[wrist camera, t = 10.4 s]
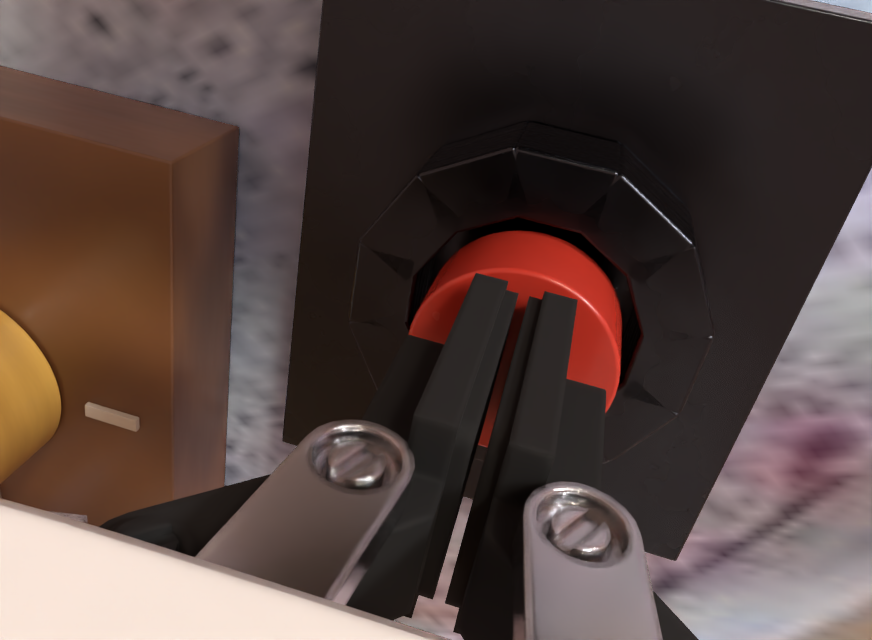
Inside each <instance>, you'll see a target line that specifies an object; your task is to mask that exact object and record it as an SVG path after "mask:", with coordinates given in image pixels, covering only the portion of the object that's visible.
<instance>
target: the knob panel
mask: <svg viewBox="0 0 872 640" xmlns="http://www.w3.org/2000/svg"><path fill="white" fill-rule="evenodd" d="M238 147H239V127H238V126H235V125H231V124H227V123H223V122H219V121H215V120H211V119H207V118H203V117H199V116H195V115H191V114H188V113H184V112H180V111H176V110H172V109H168V108H164V107H160V106H156V105H152V104H148V103H144V102H140V101H137V100H133V99H129V98H125V97H121V96H117V95H113V94H109V93H105V92H101V91H97V90H93V89H89V88H85V87H82V86H78V85H74V84H70V83H66V82H62V81H58V80H54V79H50V78H46V77H42V76H38V75H34V74H30V73H27V72H23V71H19V70H15V69H11V68H7V67H3V66H0V310H1V311H3V312H4V313H5V314H7V315H8V316H9V317H10V318H11V319H13V320H14V321H15V322H16V323H17V324H18V325H19V326H20V327H21V328H22V329H23V330H24V331H25V332H26V333H27V334H28V335H29V336H30V337H31V339H32V340H33V341H34V342H35V343H36V345H37V346H38V347H39V349H40V350H41V352H42V353H43V355H44V356H45V358H46V360H47V361H48V363H49V365H50V367H51V369H52V371H53V373H54V376H55V378H56V381H57V384H58V387H59V392H60V397H61V418H60V421H59V425H58V428H57V430H56V432H55V433H54V435H53V437H52V438H51V439H50V440H49V441H48V442H47V443H46V444H45V445H44V446H43V447H42V448H40V449H39V450H38V451H37V452H36V453H35V454H34V455H33V456H31V457H30V458H29V459H28V460H27V461H26V462H25V463H24V464H22V465H21V466H20V467H19V468H18V469H17V470H16V471H15V472H14V473H12V474H11V475H10V476H9V477H8V478H7V479H6V480H5V481H3V482H2V483H1V484H0V498H2V499H5V500H9V501H13V502H16V503H20V504H23V505H27V506H30V507H34V508H38V509H41V510H45V511H51V512H60V513H69V514H78V515H86V516H87V519H88V524H90V525H94V526H97V527H99V526H101V525H102V524H104V523H105V522H107V521H108V520H110V519H113V518H115V517H118V516H120V515H123V514H126V513H128V512H132V511H135V510H139V509H143V508H146V507H150V506H154V505H158V504H161V503H165V502H169V501H173V500H176V499H180V498H184V497H188V496H191V495H195V494H199V493H203V492H206V491H210V490H214V489H218V488H221V487H224V482H225V458H226V434H227V411H228V387H229V363H230V339H231V315H232V291H233V267H234V243H235V219H236V195H237V171H238Z"/></svg>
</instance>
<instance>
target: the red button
mask: <svg viewBox="0 0 872 640" xmlns="http://www.w3.org/2000/svg"><path fill="white" fill-rule="evenodd" d="M476 273H479V274H483V275H487V276H490V277H494V278H498V279H502V280H505V281H508V286H507V290H509V291H512V292H516V293H519V295H518V299H517V302H516V306H515V310H514V314H513V317H512V321H511V325H510V329H509V332H508V336H507V340H506V343H505V347H504V351H503V355H502V358H501V362H500V366H499V370H498V373H497V377H496V381H495V384H494V388H493V392H492V396H491V399H490V403H489V407H488V411H487V414H486V418H485V422H484V425H483V429H482V433H481V436H480V440H479V443H478V445H481V446H483V447H486V448H487V447H488V444H489V440H490V436H491V433H492V429H493V426H494V422H495V418H496V415H497V411H498V408H499V404H500V400H501V397H502V393H503V389H504V386H505V382H506V379H507V375H508V371H509V368H510V364H511V361H512V357H513V353H514V350H515V346H516V343H517V339H518V335H519V332H520V328H521V324H522V321H523V317H524V314H525V310H526V306H527V303H528V299H529V296H531V297H535V298H538V299H542V298H543V294H544V291H547V292H550V293H554V294H558V295H562V296H565V297H569V298H573V299H577V300H578V302H577V309H576V316H575V323H574V330H573V337H572V344H571V350H570V357H569V364H568V371H567V378H566V379H570V380H573V381H577V382H581V383H584V384H588V385H591V386H595V387H598V388H602V389H605V390H606V411H605V414H606V412H607V411H608V409H609V408H610V406H611V404H612V402H613V400H614V398H615V395H616V392H617V389H618V385H619V380H620V371H621V340H622V313H621V308H620V303H619V299H618V297H617V294H616V291H615V289H614V287H613V285H612V283H611V281H610V279H609V278H608V276H607V275H606V274H605V272H604V271H603V269H602V268H601V267H600V266H599V265H598V264H597V263H596V262H595V261H594V260H593V259H592V258H591V257H590V256H589V255H587V254H586V253H585V252H584V251H582V250H581V249H579V248H577V247H576V246H574V245H573V244H571V243H569V242H567V241H565V240H562V239H560V238H558V237H554V236H551V235H548V234H544V233H539V232H534V231H522V230H516V231H504V232H498V233H493V234H490V235H487V236H483V237H481V238H478V239H476V240H474V241H472V242H470V243H468V244H467V245H465V246H464V247H462V248H461V249H459V250H458V251H457V252H456V253H455V254H453V255H452V256H451V257H450V258H449V259H448V261H447V262H446V263H445V264H444V265H443V267H442V268H441V270H440V271H439V273H438V274H437V276H436V278H435V280H434V282H433V283H432V285H431V287H430V289H429V291H428V292H427V294H426V296H425V298H424V300H423V301H422V303H421V305H420V307H419V309H418V310H417V312H416V314H415V316H414V319H413V321H412V323H411V325H410V329H409V333H408V335H412V336H416V337H419V338H423V339H427V340H430V341H434V342H437V343H441V344H445V342H446V340H447V337H448V335H449V333H450V330H451V328H452V326H453V324H454V321H455V319H456V317H457V314H458V312H459V310H460V308H461V305H462V303H463V301H464V298H465V296H466V294H467V292H468V289H469V287H470V285H471V282H472V280H473V278H474V276H475V274H476Z"/></svg>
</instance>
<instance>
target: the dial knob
mask: <svg viewBox="0 0 872 640" xmlns="http://www.w3.org/2000/svg"><path fill="white" fill-rule="evenodd" d="M60 418H61V397H60V392H59V387H58V384H57V381H56V378H55V376H54V373H53V371H52V369H51V367H50V365H49V363H48V361H47V360H46V358H45V356H44V355H43V353H42V352H41V350H40V349H39V347H38V346H37V345H36V343H35V342H34V341H33V340H32V339H31V337H30V336H29V335H28V334H27V333H26V332H25V331H24V330H23V329H22V328H21V327H20V326H19V325H18V324H17V323H16V322H15V321H14V320H13V319H11V318H10V317H9V316H8V315H7V314H5V313H4V312H3V311H1V310H0V484H1V483H2V482H3V481H5V480H6V479H7V478H8V477H9V476H10V475H11V474H12V473H14V472H15V471H16V470H17V469H18V468H19V467H20V466H21V465H22V464H24V463H25V462H26V461H27V460H28V459H29V458H30V457H31V456H33V455H34V454H35V453H36V452H37V451H38V450H39V449H40V448H42V447H43V446H44V445H45V444H46V443H47V442H48V441H49V440H50V439H51V438H52V437H53V435H54V433H55V432H56V430H57V428H58V425H59V421H60Z"/></svg>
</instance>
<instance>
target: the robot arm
mask: <svg viewBox="0 0 872 640" xmlns="http://www.w3.org/2000/svg"><path fill="white" fill-rule="evenodd" d="M507 286H508V281H505V280H502V279H498V278H494V277H490V276H487V275H483V274H479V273H476V274H475V276H474V278H473V280H472V282H471V285H470V287H469V289H468V292H467V294H466V296H465V298H464V301H463V303H462V305H461V308H460V310H459V312H458V314H457V317H456V319H455V321H454V324H453V326H452V328H451V330H450V333H449V335H448V337H447V340H446V342H445V344H441V343H437V342H434V341H430V340H427V339H423V338H419V337H416V336H412V335H407V336H406V338H405V339H404V341H403V343H402V345H401V347H400V349H399V350H398V352H397V354H396V356H395V358H394V360H393V362H392V364H391V365H390V367H389V369H388V371H387V373H386V375H385V377H384V378H383V380H382V382H381V384H380V386H379V388H378V390H377V392H376V393H375V395H374V397H373V399H372V401H371V403H370V405H369V406H368V408H367V410H366V412H365V414H364V416H363V418H362V420H354V419H347V420H339V421H332V422H330V423H327V424H324V425H322V426H319V427H317V428H316V429H315V430H313V431H312V432H311V433H309V434H308V435H307V436H306V437H305V438H304V439H303V440H302V441H301V442H300V444H299V445H298V446H297V447H296V448H295V449H294V450H293V451H292V452H291V453H290V454H289V455H288V457H287V458H286V459H285V460H284V461H283V462H282V463H281V464H280V465H279V466H278V467H277V468H276V470H275V471H274V472H273V473H272V474H270V475H266V476H263V477H259V478H255V479H251V480H248V481H244V482H240V483H236V484H233V485H229V486H225V487H221V488H218V489H214V490H210V491H206V492H203V493H199V494H195V495H191V496H188V497H184V498H180V499H176V500H173V501H169V502H165V503H161V504H158V505H154V506H150V507H146V508H143V509H139V510H135V511H132V512H128V513H126V514H123V515H120V516H118V517H115V518H113V519H110V520H108V521H107V522H105V523H104V524H102V525H101V526H99V527H97V526H94V525H90V524H88V519H87V516H86V515H78V514H69V513H60V512H51V511H45V510H41V509H38V508H34V507H30V506H27V505H23V504H20V503H16V502H13V501H9V500H5V499H2V498H0V640H450V639H447V638H444V637H441V636H438V635H435V634H432V633H429V632H426V631H423V630H420V629H417V628H414V627H410V626H407V625H404V624H401V623H398V622H395V621H392V620H394V619H397V618H399V617H402V616H406V617H409V618H412V615H413V611H414V608H415V605H416V602H417V599H418V596H419V595H421V596H424V597H427V598H430V599H433V597H434V594H435V591H436V587H437V584H438V580H439V577H440V573H441V570H442V567H443V563H444V560H445V556H446V553H447V549H448V546H449V543H450V539H451V536H452V532H453V529H454V526H455V522H456V519H457V515H458V512H459V508H460V505H461V502H462V498H463V495H464V491H465V488H466V484H467V481H468V478H469V474H470V471H471V467H472V464H473V461H474V457H475V454H476V450H477V447H478V443H479V440H480V436H481V433H482V429H483V425H484V422H485V418H486V414H487V411H488V407H489V403H490V399H491V396H492V392H493V388H494V384H495V381H496V377H497V373H498V370H499V366H500V362H501V358H502V355H503V351H504V347H505V343H506V340H507V336H508V332H509V329H510V325H511V321H512V317H513V314H514V310H515V306H516V302H517V299H518V295H519V293H516V292H512V291H509V290H507ZM577 302H578V300H577V299H573V298H569V297H565V296H562V295H558V294H554V293H550V292H547V291H544V294H543V298H542V299H538V298H535V297H531V296H529V299H528V303H527V306H526V310H525V314H524V317H523V321H522V324H521V328H520V332H519V335H518V339H517V343H516V346H515V350H514V353H513V357H512V361H511V364H510V368H509V371H508V375H507V379H506V382H505V386H504V389H503V393H502V397H501V400H500V404H499V408H498V411H497V415H496V418H495V422H494V426H493V429H492V433H491V436H490V440H489V444H488V447H487V451H486V455H485V458H484V462H483V466H482V469H481V473H480V477H479V480H478V484H477V488H476V491H475V495H474V499H473V502H472V506H471V510H470V513H469V517H468V521H467V524H466V528H465V532H464V535H463V539H462V543H461V546H460V550H459V554H458V557H457V561H456V565H455V568H454V572H453V575H452V579H451V583H450V586H449V590H448V594H447V597H446V601H445V603H446V604H449V605H452V606H455V607H458V608H459V611H458V615H457V619H456V623H455V627H454V631H453V632H455V633H458V634H461V636H462V637H463V639H464V640H698V639H697V637H696V636H695V635H694V634H693V633H692V632H691V631H690V630H689V629H688V628H687V627H686V626H685V625H684V623H683V622H682V621H681V620H680V619H679V618H678V617H677V616H676V615H675V614H674V613H673V612H672V611H671V610H670V608H669V607H668V606H667V605H666V604H665V603H664V602H663V601H662V600H661V599H660V598H659V597H658V596H657V594H656V593H655V592H654V591H653V590H652V585H651V580H650V575H649V570H648V565H647V561H646V556H645V551H644V546H643V541H642V536H641V533H640V531H639V528H638V526H637V523H636V521H635V520H634V518H633V517H632V516H631V515H630V513H629V512H628V511H627V509H626V508H625V507H624V506H622V505H621V504H620V503H619V502H617V501H616V500H615V499H614V498H613V497H611V496H609V495H608V494H606V493H604V492H602V491H601V481H602V464H603V446H604V429H605V411H606V390H605V389H602V388H598V387H595V386H591V385H588V384H584V383H581V382H577V381H573V380H570V379H566V378H567V371H568V364H569V357H570V350H571V344H572V337H573V330H574V323H575V316H576V309H577Z"/></svg>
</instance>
